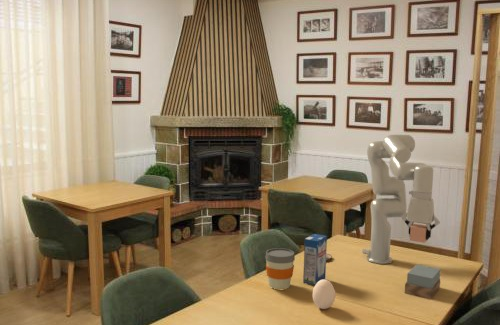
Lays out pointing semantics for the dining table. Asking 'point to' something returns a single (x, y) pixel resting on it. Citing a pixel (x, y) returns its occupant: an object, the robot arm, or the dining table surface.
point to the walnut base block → (422, 290)
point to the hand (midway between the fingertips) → (419, 237)
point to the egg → (323, 294)
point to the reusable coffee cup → (279, 267)
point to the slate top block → (423, 276)
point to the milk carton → (314, 259)
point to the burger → (328, 257)
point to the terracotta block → (418, 233)
